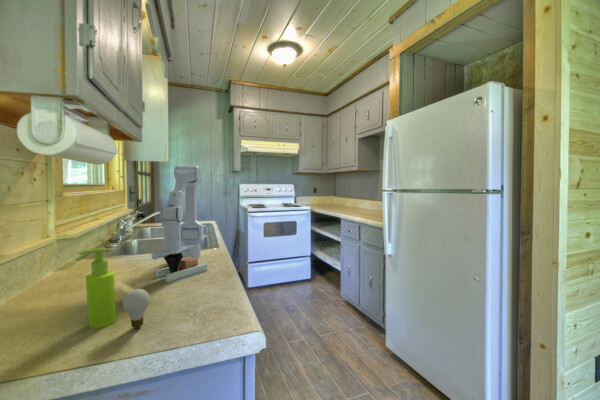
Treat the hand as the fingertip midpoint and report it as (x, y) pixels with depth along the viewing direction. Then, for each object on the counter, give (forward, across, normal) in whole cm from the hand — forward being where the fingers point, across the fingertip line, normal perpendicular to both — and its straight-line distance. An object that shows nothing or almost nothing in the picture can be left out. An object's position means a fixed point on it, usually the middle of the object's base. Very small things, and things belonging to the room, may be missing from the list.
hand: (173, 273), depth 101 cm
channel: (+2, +4, 0) cm, 4 cm away
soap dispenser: (+3, -28, -14) cm, 31 cm away
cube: (+1, +6, 0) cm, 6 cm away
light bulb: (+3, -22, -24) cm, 33 cm away
